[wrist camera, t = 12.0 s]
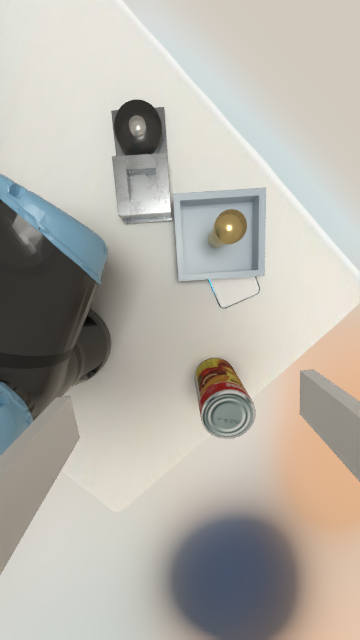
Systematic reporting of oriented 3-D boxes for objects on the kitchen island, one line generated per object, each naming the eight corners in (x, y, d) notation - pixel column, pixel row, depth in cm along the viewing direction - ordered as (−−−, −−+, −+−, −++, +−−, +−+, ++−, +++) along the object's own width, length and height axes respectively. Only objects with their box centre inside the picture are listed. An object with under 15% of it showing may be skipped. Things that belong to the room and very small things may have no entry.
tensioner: (171, 221, 37) (171, 215, 34) (124, 224, 37) (119, 219, 34) (164, 110, 34) (162, 91, 30) (112, 113, 34) (105, 95, 30)
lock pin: (205, 252, 37) (215, 244, 28) (204, 227, 37) (214, 210, 27) (228, 250, 37) (247, 242, 27) (228, 225, 37) (247, 207, 27)
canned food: (241, 383, 43) (264, 424, 32) (206, 401, 44) (216, 447, 32) (223, 350, 42) (241, 380, 30) (187, 369, 43) (191, 406, 31)
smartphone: (259, 291, 40) (227, 205, 37) (261, 292, 39) (228, 203, 36) (219, 309, 41) (184, 225, 37) (220, 310, 40) (185, 224, 37)
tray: (178, 280, 39) (178, 281, 35) (173, 201, 36) (172, 193, 33) (256, 275, 39) (264, 275, 35) (257, 196, 36) (265, 187, 33)
